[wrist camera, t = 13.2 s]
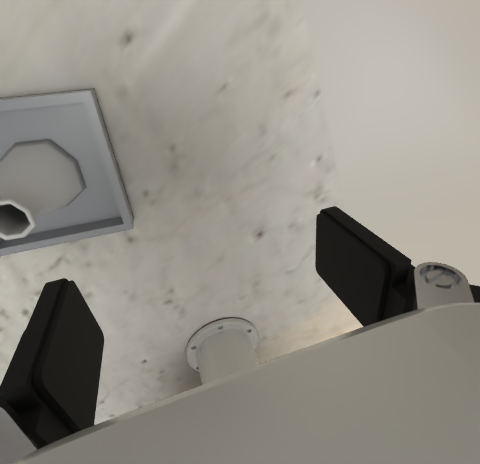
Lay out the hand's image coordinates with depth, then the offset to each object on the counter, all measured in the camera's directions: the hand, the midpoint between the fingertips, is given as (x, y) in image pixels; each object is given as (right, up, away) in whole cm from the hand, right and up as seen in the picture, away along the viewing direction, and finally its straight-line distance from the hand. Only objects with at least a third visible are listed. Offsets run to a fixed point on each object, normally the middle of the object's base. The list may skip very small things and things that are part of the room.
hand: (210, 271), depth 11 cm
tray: (-19, +8, +18) cm, 27 cm away
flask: (-19, +7, +18) cm, 27 cm away
